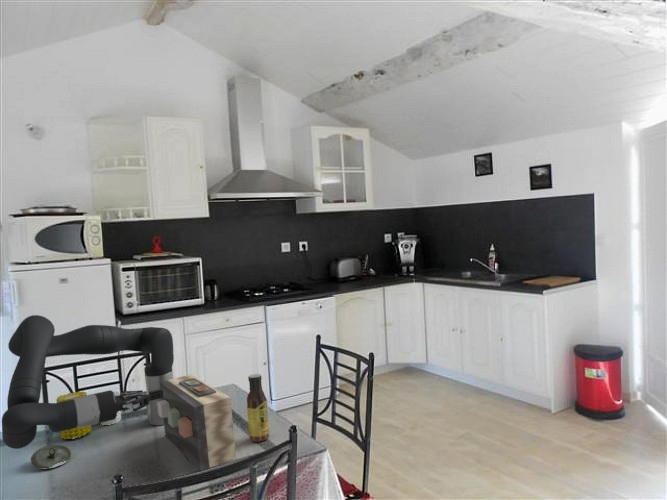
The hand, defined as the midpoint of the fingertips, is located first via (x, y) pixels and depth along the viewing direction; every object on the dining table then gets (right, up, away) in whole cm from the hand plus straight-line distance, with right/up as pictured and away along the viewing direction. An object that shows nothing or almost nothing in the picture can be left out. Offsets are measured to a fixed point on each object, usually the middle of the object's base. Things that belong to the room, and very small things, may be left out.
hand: (162, 393), depth 142 cm
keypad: (+6, -21, +17) cm, 27 cm away
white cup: (-33, -23, +43) cm, 58 cm away
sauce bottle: (+24, -20, +19) cm, 37 cm away
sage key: (0, -13, +12) cm, 18 cm away
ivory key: (-6, -13, +20) cm, 25 cm away
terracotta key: (+5, -13, +4) cm, 14 cm away
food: (-40, -24, +33) cm, 57 cm away
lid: (-37, -25, +13) cm, 46 cm away
